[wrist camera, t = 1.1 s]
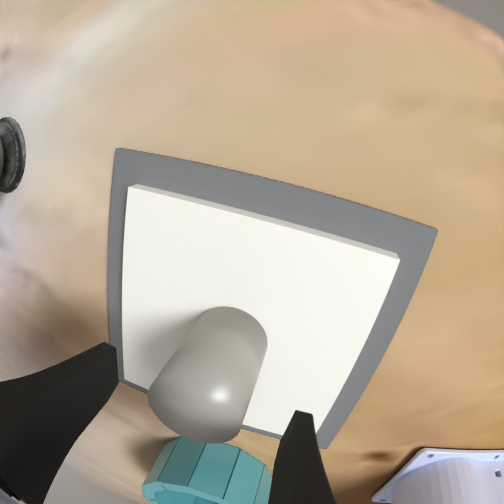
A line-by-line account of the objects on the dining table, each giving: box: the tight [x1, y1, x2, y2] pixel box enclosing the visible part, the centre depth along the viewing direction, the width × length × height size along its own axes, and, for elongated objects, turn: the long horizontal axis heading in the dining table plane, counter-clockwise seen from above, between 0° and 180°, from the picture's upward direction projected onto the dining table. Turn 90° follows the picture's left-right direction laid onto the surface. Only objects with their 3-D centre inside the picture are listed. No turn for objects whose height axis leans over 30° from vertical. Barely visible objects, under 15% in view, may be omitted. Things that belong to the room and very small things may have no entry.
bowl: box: [142, 437, 272, 504], centre depth 20 cm, size 9×9×4 cm
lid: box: [122, 184, 400, 443], centre depth 13 cm, size 12×12×6 cm
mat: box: [108, 148, 438, 449], centre depth 16 cm, size 15×15×1 cm
